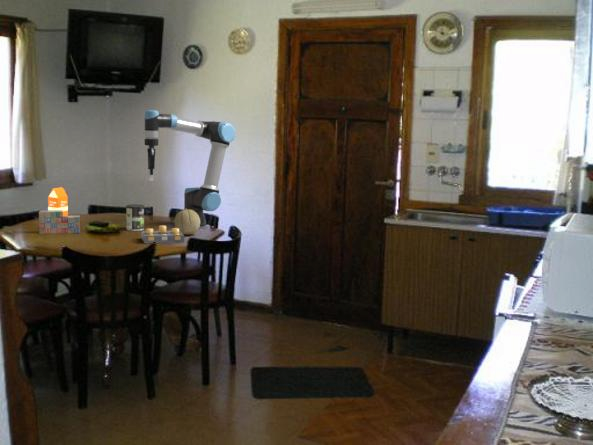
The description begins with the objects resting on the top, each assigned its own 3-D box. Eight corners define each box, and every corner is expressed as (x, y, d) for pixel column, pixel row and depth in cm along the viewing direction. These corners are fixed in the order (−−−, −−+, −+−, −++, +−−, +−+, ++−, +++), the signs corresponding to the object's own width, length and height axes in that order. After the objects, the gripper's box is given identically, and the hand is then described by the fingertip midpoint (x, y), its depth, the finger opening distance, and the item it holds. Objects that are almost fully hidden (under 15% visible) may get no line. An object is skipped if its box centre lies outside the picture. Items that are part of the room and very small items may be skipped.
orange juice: (48, 220, 433) (47, 188, 429) (58, 218, 441) (57, 186, 438) (58, 221, 430) (58, 189, 427) (68, 219, 438) (67, 187, 435)
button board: (179, 237, 396) (179, 230, 396) (184, 242, 383) (184, 234, 382) (141, 238, 389) (141, 230, 389) (144, 243, 376) (144, 235, 376)
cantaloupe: (188, 238, 396) (189, 211, 394) (168, 234, 404) (169, 208, 401) (205, 234, 409) (206, 208, 406) (186, 231, 416) (186, 206, 414)
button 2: (178, 236, 391) (178, 227, 390) (179, 238, 387) (179, 229, 386) (171, 237, 390) (171, 228, 389) (172, 238, 386) (172, 229, 385)
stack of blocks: (80, 231, 403) (79, 210, 401) (79, 233, 397) (79, 211, 395) (40, 231, 398) (39, 210, 395) (39, 233, 392) (38, 211, 390)
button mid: (165, 234, 388) (165, 225, 388) (166, 235, 385) (166, 226, 384) (158, 234, 387) (158, 225, 386) (159, 235, 383) (159, 226, 382)
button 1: (152, 237, 386) (152, 228, 385) (153, 238, 383) (153, 229, 382) (145, 237, 385) (145, 228, 384) (146, 239, 381) (146, 229, 380)
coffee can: (146, 228, 420) (147, 204, 417) (139, 231, 410) (139, 207, 408) (130, 227, 422) (130, 203, 419) (123, 230, 412) (123, 206, 410)
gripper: (143, 137, 400) (142, 179, 404) (146, 138, 388) (145, 181, 392) (156, 137, 403) (156, 179, 407) (160, 139, 391) (159, 181, 394)
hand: (151, 180), depth 399 cm, fingers closed
